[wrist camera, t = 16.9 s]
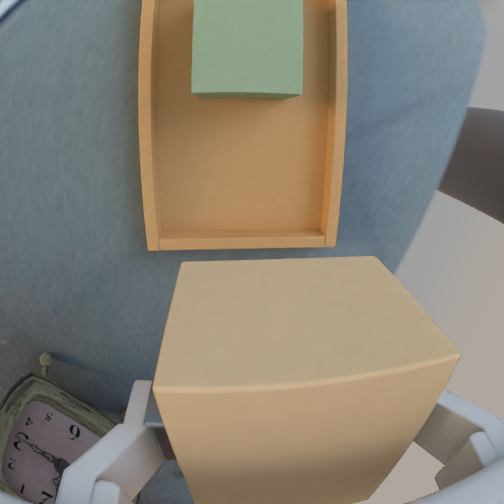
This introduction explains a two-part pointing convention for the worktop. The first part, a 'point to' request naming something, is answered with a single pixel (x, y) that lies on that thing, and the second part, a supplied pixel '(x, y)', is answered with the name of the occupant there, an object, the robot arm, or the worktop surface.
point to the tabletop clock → (45, 435)
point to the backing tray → (240, 142)
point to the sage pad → (247, 49)
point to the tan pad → (295, 378)
